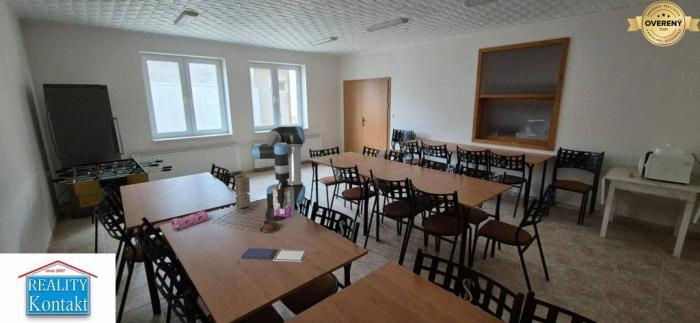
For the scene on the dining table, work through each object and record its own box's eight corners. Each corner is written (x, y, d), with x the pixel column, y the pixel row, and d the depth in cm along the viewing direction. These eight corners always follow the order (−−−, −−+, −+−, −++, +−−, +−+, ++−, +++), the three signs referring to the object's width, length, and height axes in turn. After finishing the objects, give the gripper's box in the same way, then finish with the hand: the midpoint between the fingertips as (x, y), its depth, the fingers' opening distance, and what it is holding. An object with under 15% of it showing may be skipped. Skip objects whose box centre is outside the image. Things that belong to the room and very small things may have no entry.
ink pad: (249, 249, 162) (248, 247, 162) (277, 250, 161) (276, 248, 161) (241, 258, 152) (240, 256, 152) (270, 259, 151) (270, 257, 151)
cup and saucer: (278, 226, 195) (277, 217, 194) (280, 233, 184) (280, 223, 183) (259, 228, 191) (259, 219, 190) (261, 236, 180) (260, 226, 179)
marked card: (280, 249, 162) (280, 249, 162) (306, 250, 161) (306, 250, 160) (272, 260, 150) (272, 260, 150) (301, 261, 149) (301, 261, 149)
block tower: (241, 216, 214) (239, 177, 208) (236, 213, 219) (233, 175, 214) (251, 213, 219) (249, 175, 214) (246, 210, 225) (243, 173, 220)
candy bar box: (273, 216, 166) (271, 188, 163) (277, 213, 171) (276, 186, 168) (291, 218, 163) (290, 189, 160) (295, 215, 168) (294, 187, 165)
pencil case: (177, 233, 183) (176, 220, 182) (170, 230, 189) (168, 217, 187) (210, 223, 201) (208, 210, 199) (202, 220, 206) (201, 208, 204)
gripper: (280, 168, 172) (282, 206, 176) (269, 176, 153) (272, 217, 158) (293, 168, 171) (294, 206, 175) (283, 176, 153) (285, 217, 157)
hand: (284, 211), depth 166 cm, fingers closed on candy bar box, 5 cm apart
